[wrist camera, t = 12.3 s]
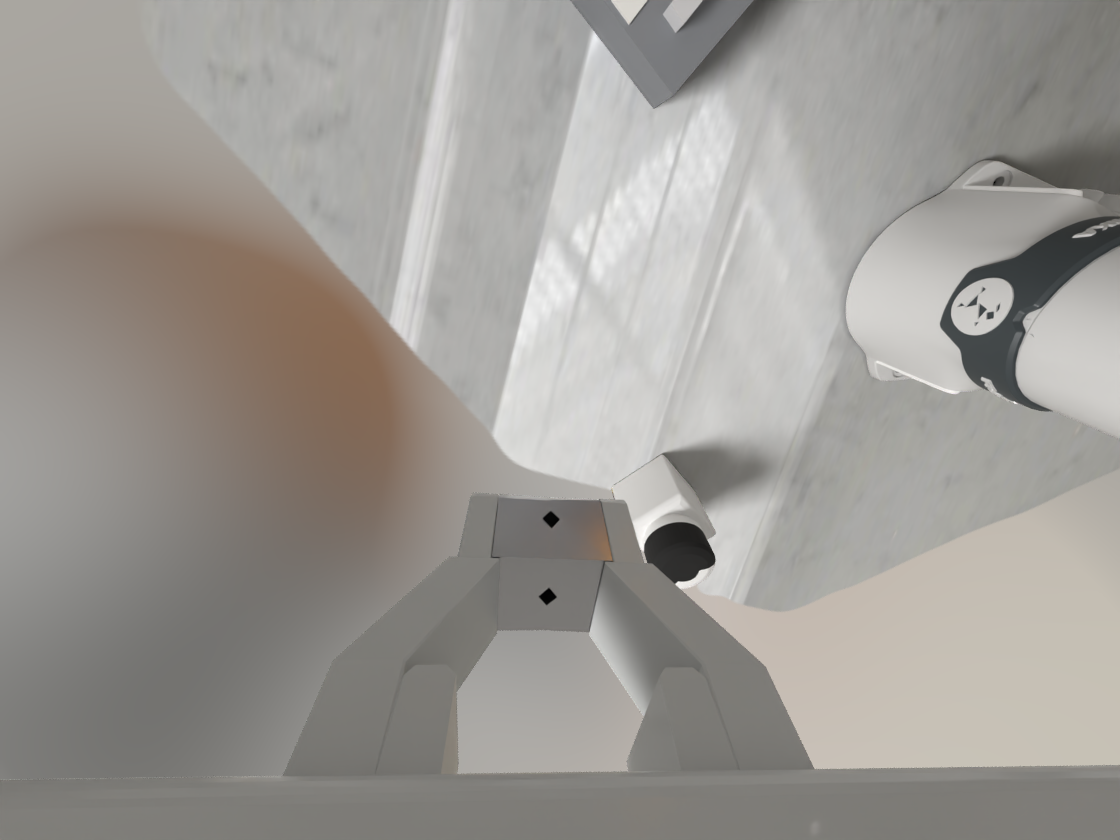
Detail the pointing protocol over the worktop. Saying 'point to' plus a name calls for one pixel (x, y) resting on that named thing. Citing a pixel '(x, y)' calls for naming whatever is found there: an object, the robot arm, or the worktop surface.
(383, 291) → the worktop surface
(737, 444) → the worktop surface
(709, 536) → the medicine bottle
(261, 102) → the worktop surface
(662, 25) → the breaker box
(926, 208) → the robot arm
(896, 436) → the worktop surface
